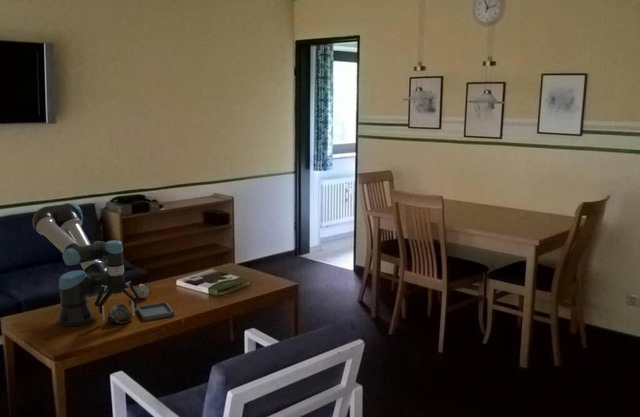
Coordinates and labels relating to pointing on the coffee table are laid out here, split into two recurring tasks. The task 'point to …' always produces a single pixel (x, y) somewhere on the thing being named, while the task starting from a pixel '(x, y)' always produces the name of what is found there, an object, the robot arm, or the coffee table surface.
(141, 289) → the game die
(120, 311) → the fossil
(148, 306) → the tray
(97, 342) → the coffee table surface
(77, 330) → the coffee table surface
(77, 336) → the coffee table surface
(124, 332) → the coffee table surface
